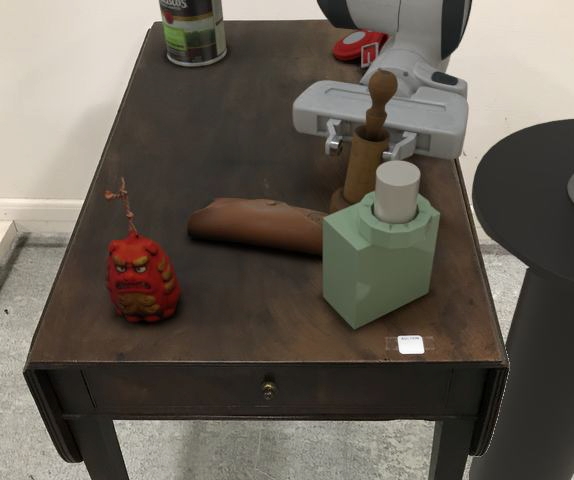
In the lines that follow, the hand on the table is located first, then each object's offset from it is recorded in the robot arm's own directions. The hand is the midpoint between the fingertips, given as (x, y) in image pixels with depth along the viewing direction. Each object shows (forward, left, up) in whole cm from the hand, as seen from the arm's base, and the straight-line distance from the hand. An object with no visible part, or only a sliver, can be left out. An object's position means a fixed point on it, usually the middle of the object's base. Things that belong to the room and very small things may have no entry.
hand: (359, 155), depth 76 cm
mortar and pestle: (0, -1, -9) cm, 9 cm away
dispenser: (-1, +12, -11) cm, 16 cm away
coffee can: (+19, -51, -11) cm, 56 cm away
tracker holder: (-8, -44, -11) cm, 47 cm away
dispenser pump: (-1, +12, +2) cm, 13 cm away
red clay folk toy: (+25, +9, -11) cm, 28 cm away
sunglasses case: (+10, -2, -11) cm, 15 cm away
